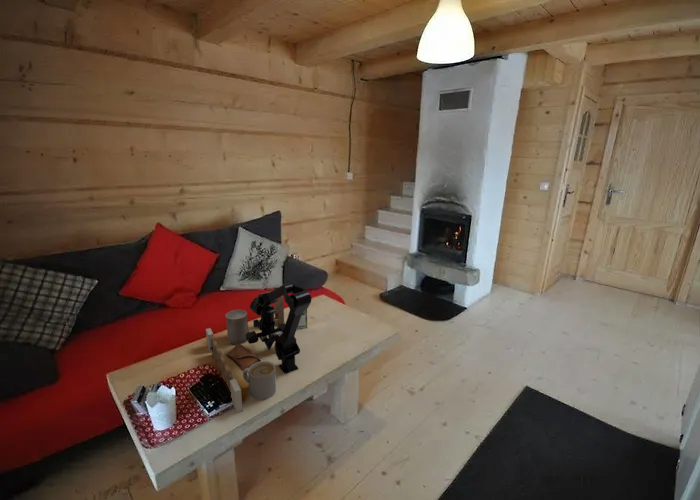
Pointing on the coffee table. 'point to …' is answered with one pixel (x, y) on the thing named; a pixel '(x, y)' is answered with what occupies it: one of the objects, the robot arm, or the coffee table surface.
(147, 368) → the coffee table surface
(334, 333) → the coffee table surface
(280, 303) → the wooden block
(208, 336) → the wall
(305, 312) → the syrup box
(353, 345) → the coffee table surface
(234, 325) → the pillar candle
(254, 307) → the robot arm
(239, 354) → the sunglasses case
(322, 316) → the coffee table surface
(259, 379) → the coffee mug
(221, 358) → the door
